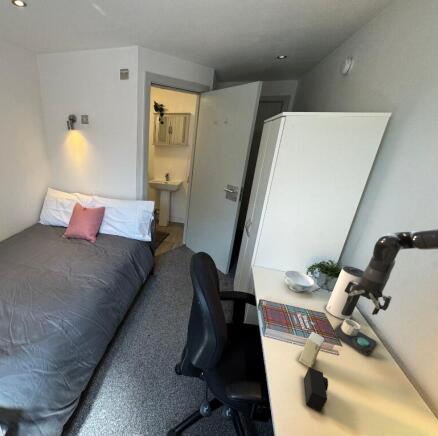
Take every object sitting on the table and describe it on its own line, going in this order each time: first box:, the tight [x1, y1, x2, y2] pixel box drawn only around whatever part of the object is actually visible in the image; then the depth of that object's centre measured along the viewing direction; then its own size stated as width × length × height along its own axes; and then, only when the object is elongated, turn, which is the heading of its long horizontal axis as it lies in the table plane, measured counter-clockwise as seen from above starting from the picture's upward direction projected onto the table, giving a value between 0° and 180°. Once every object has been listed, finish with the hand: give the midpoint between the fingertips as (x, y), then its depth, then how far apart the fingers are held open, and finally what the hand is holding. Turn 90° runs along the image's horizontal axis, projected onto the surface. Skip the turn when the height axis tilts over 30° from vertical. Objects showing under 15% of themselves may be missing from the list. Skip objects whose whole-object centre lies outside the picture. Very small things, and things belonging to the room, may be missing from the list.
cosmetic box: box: [298, 331, 325, 368], centre depth 92 cm, size 6×4×12 cm
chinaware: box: [284, 270, 315, 293], centre depth 138 cm, size 15×15×8 cm
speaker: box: [325, 265, 365, 320], centre depth 117 cm, size 11×10×26 cm
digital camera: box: [303, 367, 329, 413], centre depth 80 cm, size 10×5×7 cm, turn 151°
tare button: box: [357, 338, 369, 347], centre depth 100 cm, size 4×4×2 cm
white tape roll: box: [341, 318, 362, 336], centre depth 107 cm, size 6×6×5 cm
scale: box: [333, 321, 377, 357], centre depth 105 cm, size 13×13×3 cm
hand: (360, 307), depth 102 cm, fingers open, 8 cm apart
